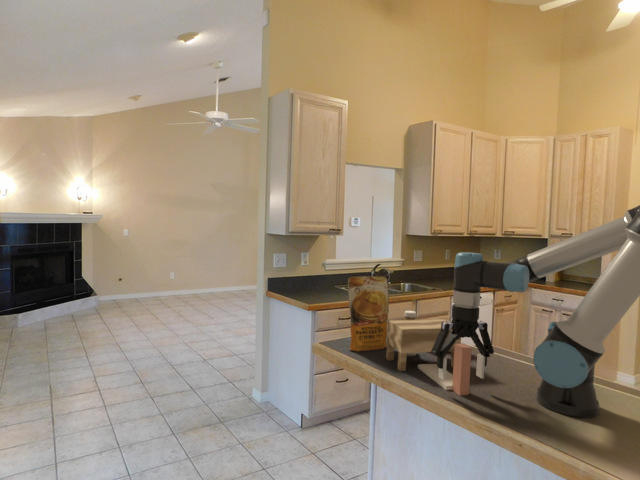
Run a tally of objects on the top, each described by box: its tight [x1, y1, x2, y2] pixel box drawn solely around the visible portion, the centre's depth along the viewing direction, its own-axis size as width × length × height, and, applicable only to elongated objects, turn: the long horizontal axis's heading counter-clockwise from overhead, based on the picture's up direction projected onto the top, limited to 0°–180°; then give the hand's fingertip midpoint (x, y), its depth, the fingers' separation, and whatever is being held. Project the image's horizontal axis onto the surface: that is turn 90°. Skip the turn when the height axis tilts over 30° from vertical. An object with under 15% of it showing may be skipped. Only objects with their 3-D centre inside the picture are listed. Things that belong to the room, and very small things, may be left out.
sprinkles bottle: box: [404, 310, 417, 320], centre depth 165 cm, size 5×5×14 cm
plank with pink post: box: [417, 342, 473, 396], centre depth 129 cm, size 22×7×14 cm, turn 13°
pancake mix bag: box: [347, 275, 390, 352], centre depth 158 cm, size 7×19×28 cm, turn 112°
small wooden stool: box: [385, 318, 462, 372], centre depth 144 cm, size 12×22×14 cm, turn 103°
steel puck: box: [406, 353, 418, 358], centre depth 154 cm, size 6×6×2 cm
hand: (461, 377), depth 121 cm, fingers open, 12 cm apart
